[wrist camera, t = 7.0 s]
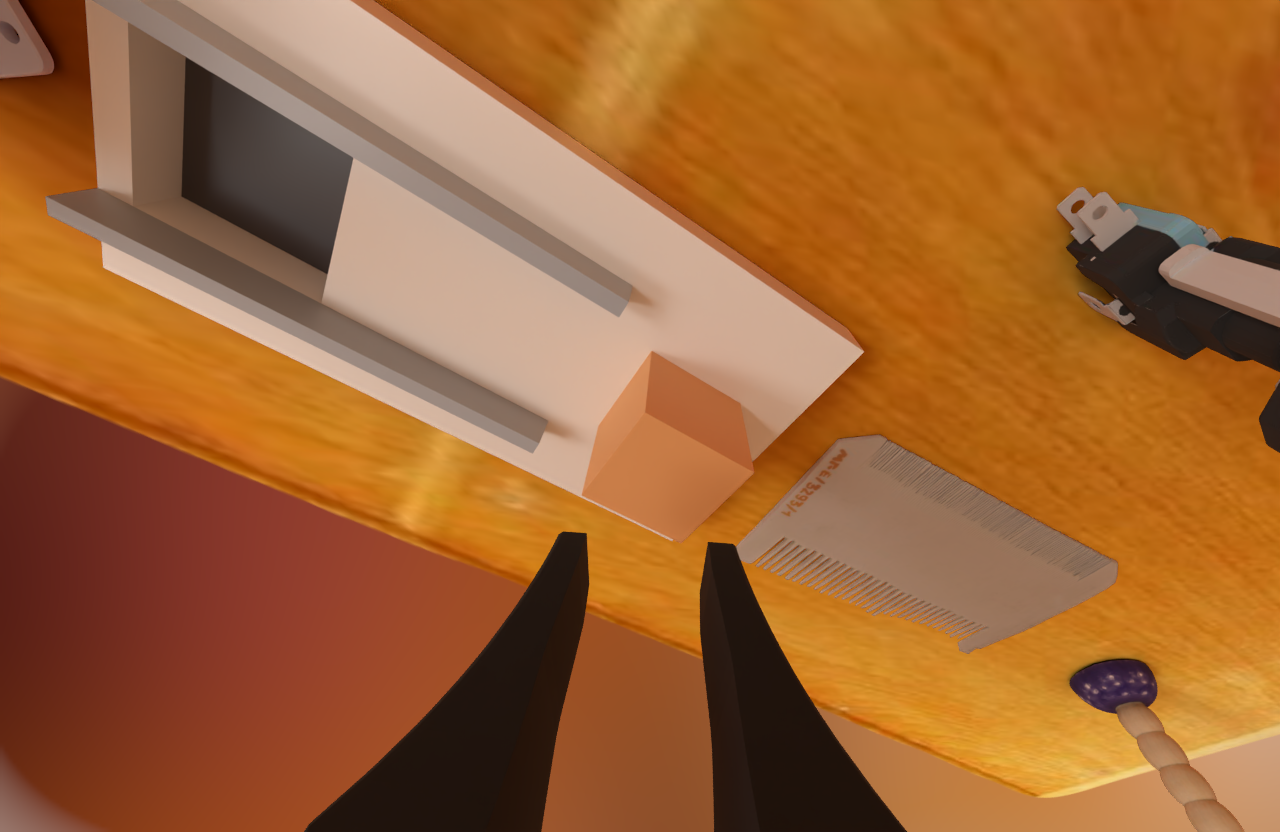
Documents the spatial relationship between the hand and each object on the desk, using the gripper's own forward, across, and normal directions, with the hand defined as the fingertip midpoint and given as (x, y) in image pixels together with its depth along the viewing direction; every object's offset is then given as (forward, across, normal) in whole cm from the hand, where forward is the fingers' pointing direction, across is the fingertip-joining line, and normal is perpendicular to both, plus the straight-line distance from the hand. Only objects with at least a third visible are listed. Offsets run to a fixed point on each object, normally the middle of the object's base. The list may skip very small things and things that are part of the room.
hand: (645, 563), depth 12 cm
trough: (+9, +6, -4) cm, 12 cm away
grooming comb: (+10, -15, +10) cm, 20 cm away
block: (+7, 0, 0) cm, 7 cm away
